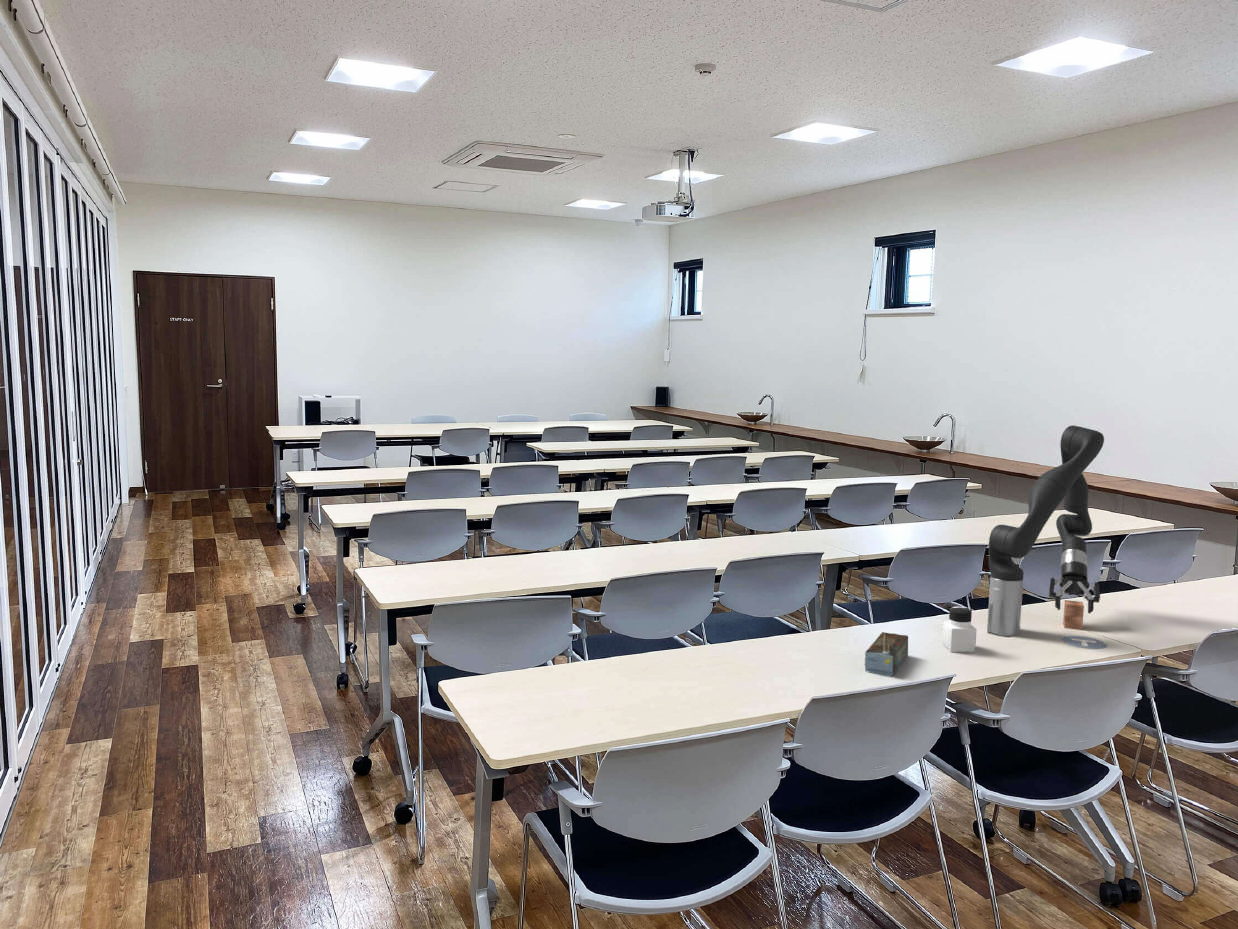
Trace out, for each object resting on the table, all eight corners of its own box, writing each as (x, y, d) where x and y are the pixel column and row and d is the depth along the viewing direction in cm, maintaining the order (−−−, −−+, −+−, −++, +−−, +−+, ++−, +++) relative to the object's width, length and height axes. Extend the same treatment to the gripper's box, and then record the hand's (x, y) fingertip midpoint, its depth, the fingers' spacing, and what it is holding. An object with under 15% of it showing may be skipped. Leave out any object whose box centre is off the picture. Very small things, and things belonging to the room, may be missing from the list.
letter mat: (1062, 646, 257) (1062, 645, 257) (1060, 634, 268) (1060, 633, 268) (1109, 652, 252) (1109, 651, 252) (1104, 640, 263) (1104, 639, 263)
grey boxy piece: (862, 672, 236) (863, 648, 235) (880, 651, 252) (881, 629, 251) (893, 677, 232) (894, 653, 231) (908, 656, 248) (909, 634, 247)
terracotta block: (1064, 629, 273) (1065, 604, 272) (1063, 624, 278) (1064, 600, 277) (1082, 631, 271) (1083, 606, 270) (1080, 626, 276) (1082, 602, 275)
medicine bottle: (975, 652, 251) (977, 612, 249) (950, 652, 251) (952, 612, 250) (966, 644, 258) (968, 605, 257) (941, 644, 258) (944, 604, 257)
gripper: (1050, 558, 282) (1049, 601, 273) (1100, 562, 276) (1101, 607, 267) (1048, 570, 287) (1047, 613, 278) (1097, 575, 282) (1098, 619, 273)
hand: (1074, 610), depth 273 cm, fingers open, 8 cm apart
